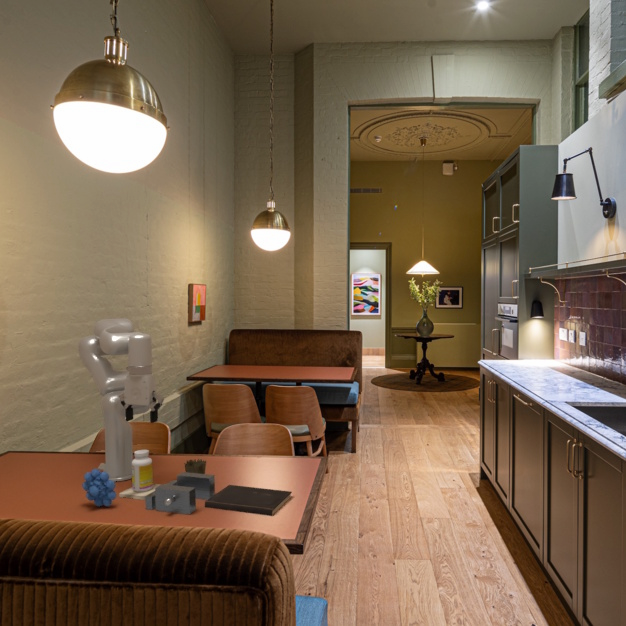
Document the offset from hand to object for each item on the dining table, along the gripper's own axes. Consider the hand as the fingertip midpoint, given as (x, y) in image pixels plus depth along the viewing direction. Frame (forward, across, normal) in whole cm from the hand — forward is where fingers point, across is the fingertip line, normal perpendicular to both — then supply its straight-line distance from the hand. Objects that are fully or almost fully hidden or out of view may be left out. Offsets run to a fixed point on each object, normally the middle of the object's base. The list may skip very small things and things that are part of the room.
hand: (141, 421), depth 180 cm
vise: (+24, +17, -6) cm, 30 cm away
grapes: (+24, -6, -15) cm, 29 cm away
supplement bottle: (+23, 0, 0) cm, 23 cm away
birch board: (+24, 0, 0) cm, 24 cm away
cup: (+24, +13, +12) cm, 30 cm away
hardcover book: (+25, +38, +2) cm, 46 cm away
